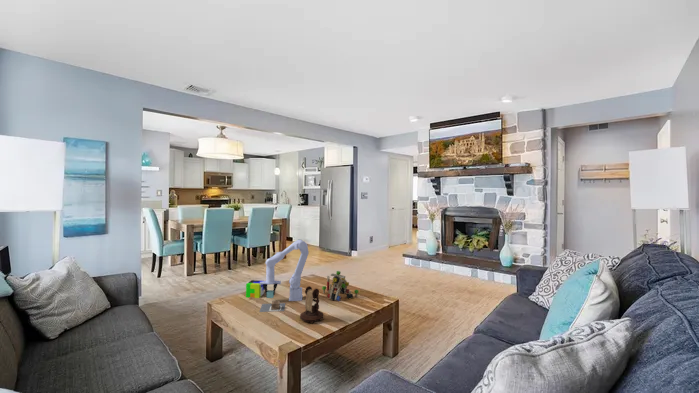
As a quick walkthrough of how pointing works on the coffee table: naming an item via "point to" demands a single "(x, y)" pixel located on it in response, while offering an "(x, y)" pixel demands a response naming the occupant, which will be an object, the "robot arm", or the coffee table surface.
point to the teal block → (270, 293)
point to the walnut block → (275, 305)
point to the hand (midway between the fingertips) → (270, 294)
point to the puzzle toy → (254, 289)
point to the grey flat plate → (268, 308)
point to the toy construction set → (338, 287)
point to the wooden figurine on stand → (311, 306)
